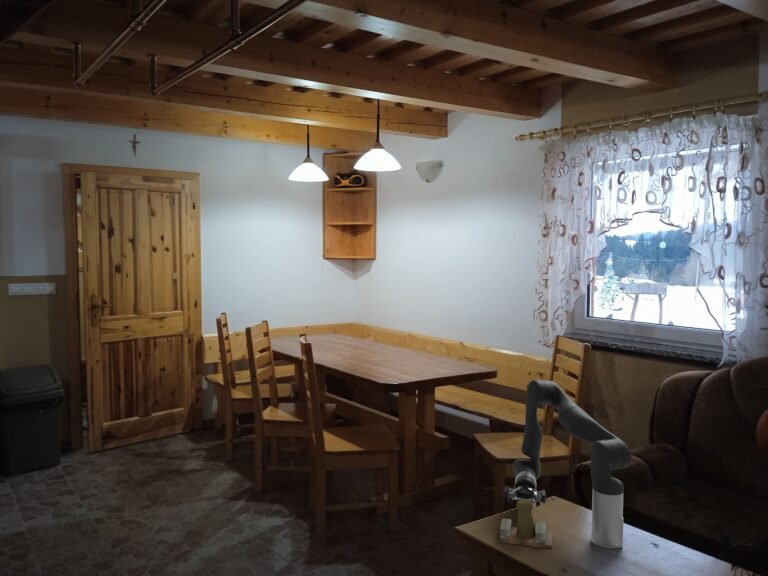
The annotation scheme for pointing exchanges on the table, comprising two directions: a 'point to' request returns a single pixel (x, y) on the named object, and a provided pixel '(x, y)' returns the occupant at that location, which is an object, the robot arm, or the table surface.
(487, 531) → the table surface
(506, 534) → the endcap cradle
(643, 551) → the table surface
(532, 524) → the cork
